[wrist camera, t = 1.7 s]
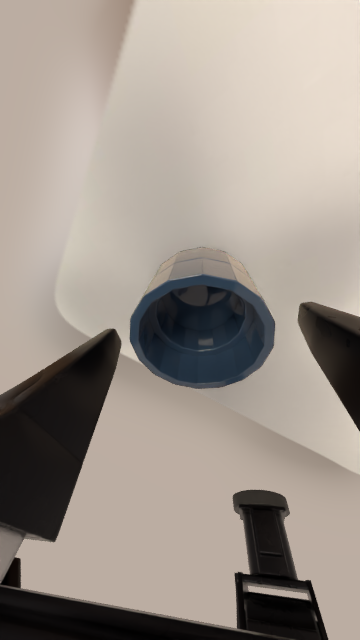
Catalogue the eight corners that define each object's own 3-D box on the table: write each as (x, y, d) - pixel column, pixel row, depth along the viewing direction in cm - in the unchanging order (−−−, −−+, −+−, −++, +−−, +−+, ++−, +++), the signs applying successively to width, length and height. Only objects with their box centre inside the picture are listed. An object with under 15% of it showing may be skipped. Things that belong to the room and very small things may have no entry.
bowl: (251, 329, 13) (272, 384, 9) (166, 339, 14) (153, 391, 10) (249, 234, 10) (279, 260, 6) (139, 257, 11) (106, 291, 7)
